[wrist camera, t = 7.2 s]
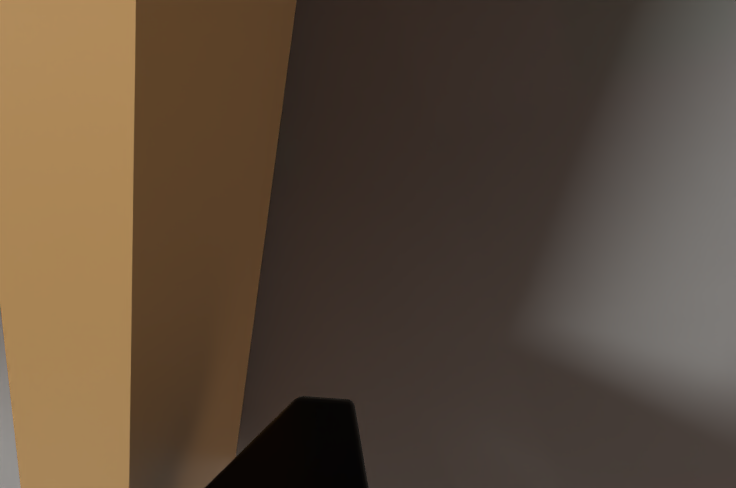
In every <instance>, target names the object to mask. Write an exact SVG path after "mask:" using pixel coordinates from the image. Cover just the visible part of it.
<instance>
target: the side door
mask: <svg viewBox="0 0 736 488" xmlns="http://www.w3.org/2000/svg"><path fill="white" fill-rule="evenodd" d="M296 2H297V0H0V307H1V316H2V325H3V334H4V343H5V351H6V360H7V369H8V378H9V387H10V396H11V405H12V414H13V422H14V431H15V440H16V449H17V458H18V467H19V476H20V484H21V488H205V487H206V486H207V485H208V484H209V483H210V482H211V481H212V480H213V479H214V478H215V477H216V476H217V475H218V474H219V473H220V472H221V471H222V470H223V469H224V468H225V467H226V466H227V465H228V464H229V463H230V462H231V461H232V460H233V459H234V458H235V457H236V450H237V443H238V435H239V428H240V420H241V413H242V405H243V398H244V390H245V383H246V376H247V368H248V361H249V353H250V346H251V338H252V331H253V323H254V316H255V308H256V301H257V293H258V286H259V278H260V271H261V263H262V256H263V248H264V241H265V233H266V226H267V219H268V211H269V204H270V196H271V189H272V181H273V174H274V166H275V159H276V151H277V144H278V136H279V129H280V121H281V114H282V106H283V99H284V91H285V84H286V76H287V69H288V62H289V54H290V47H291V39H292V32H293V24H294V17H295V9H296Z"/></svg>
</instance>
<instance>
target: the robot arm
mask: <svg viewBox="0 0 736 488" xmlns="http://www.w3.org/2000/svg"><path fill="white" fill-rule="evenodd" d="M205 488H368V482H367V476H366V471H365V465H364V459H363V453H362V447H361V441H360V435H359V429H358V423H357V417H356V411H355V406H354V403H353V402H352V401H351V400H348V399H334V398H320V397H305V396H302V397H299V398H297V399H295V400H294V401H293V402H292V403H291V404H290V405H289V406H288V407H287V408H286V409H285V410H284V411H283V412H282V413H280V414H279V415H278V416H277V417H276V418H275V419H274V420H273V421H272V422H271V423H270V424H269V425H268V426H267V427H266V428H265V429H264V430H263V431H262V432H261V433H260V434H259V435H258V436H257V437H256V438H255V439H254V440H253V441H252V442H251V443H250V444H249V445H248V446H247V447H246V448H245V449H244V450H243V451H242V452H241V453H240V454H238V455H237V456H236V457H235V458H234V459H233V460H232V461H231V462H230V463H229V464H228V465H227V466H226V467H225V468H224V469H223V470H222V471H221V472H220V473H219V474H218V475H217V476H216V477H215V478H214V479H213V480H212V481H211V482H210V483H209V484H208V485H207V486H206V487H205Z"/></svg>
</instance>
